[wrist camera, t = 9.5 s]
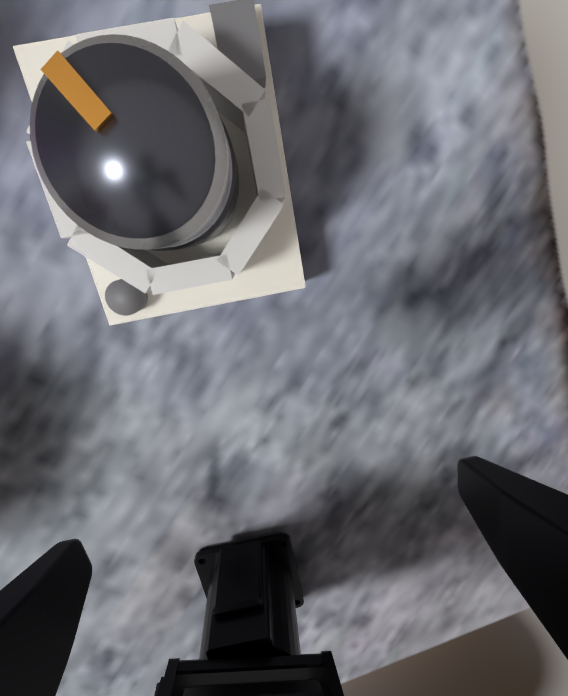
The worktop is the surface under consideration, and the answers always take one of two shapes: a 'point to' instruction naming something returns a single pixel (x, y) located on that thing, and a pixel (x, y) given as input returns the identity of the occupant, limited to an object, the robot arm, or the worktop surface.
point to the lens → (133, 145)
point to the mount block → (253, 166)
